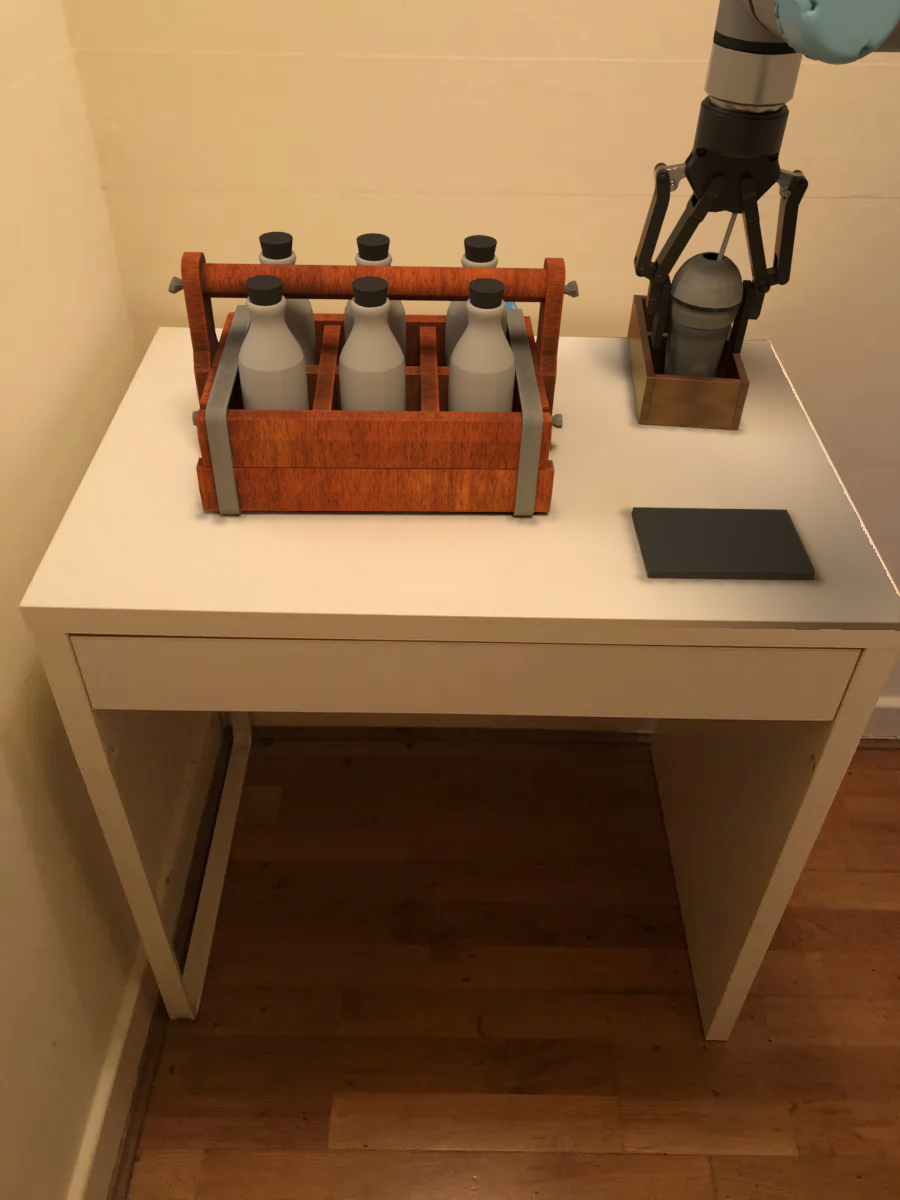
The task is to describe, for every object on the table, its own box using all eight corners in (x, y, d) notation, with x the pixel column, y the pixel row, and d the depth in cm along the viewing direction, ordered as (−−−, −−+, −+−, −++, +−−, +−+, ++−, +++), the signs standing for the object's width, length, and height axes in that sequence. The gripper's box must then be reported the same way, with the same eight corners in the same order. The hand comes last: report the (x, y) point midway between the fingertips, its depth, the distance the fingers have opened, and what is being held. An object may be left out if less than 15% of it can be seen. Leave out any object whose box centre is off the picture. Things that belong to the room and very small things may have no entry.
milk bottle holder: (213, 397, 102) (185, 208, 89) (548, 400, 103) (568, 215, 91) (177, 518, 86) (137, 310, 73) (573, 520, 87) (602, 316, 75)
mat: (784, 516, 89) (787, 509, 88) (813, 580, 82) (816, 572, 82) (631, 513, 88) (632, 506, 88) (648, 578, 82) (649, 570, 81)
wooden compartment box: (713, 342, 114) (723, 299, 111) (737, 430, 100) (749, 383, 96) (626, 337, 115) (633, 294, 111) (638, 423, 100) (646, 377, 97)
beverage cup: (667, 375, 107) (703, 188, 94) (729, 396, 104) (776, 206, 91) (636, 402, 103) (670, 209, 90) (700, 424, 100) (745, 228, 87)
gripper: (854, 94, 87) (788, 334, 102) (626, 82, 88) (594, 322, 103) (875, 118, 81) (802, 368, 96) (631, 105, 82) (596, 356, 97)
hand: (694, 344), depth 100 cm, fingers closed on beverage cup, 7 cm apart
